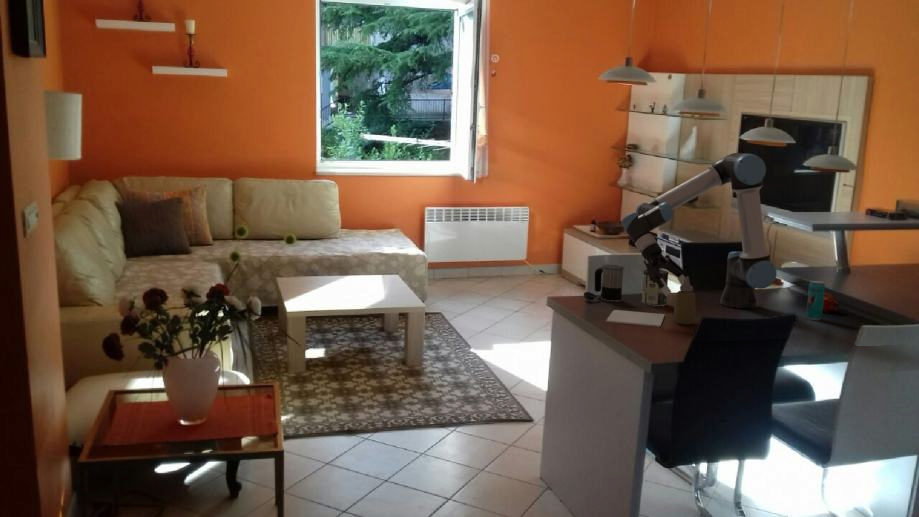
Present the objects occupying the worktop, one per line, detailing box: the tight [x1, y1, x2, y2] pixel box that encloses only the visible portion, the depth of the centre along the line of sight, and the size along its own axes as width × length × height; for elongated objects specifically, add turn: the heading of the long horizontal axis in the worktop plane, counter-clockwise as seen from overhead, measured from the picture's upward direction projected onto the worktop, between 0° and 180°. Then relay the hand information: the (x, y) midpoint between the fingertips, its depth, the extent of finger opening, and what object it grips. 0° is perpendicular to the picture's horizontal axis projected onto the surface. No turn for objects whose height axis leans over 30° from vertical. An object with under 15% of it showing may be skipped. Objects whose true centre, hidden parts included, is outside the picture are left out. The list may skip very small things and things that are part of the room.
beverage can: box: [806, 280, 826, 321], centre depth 319 cm, size 6×6×15 cm
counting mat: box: [605, 309, 666, 328], centre depth 313 cm, size 20×20×1 cm
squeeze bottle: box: [673, 276, 697, 326], centre depth 306 cm, size 8×8×18 cm
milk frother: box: [583, 264, 625, 301], centre depth 344 cm, size 14×16×15 cm
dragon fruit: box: [823, 291, 840, 313], centre depth 334 cm, size 8×8×12 cm
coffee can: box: [641, 269, 670, 307], centre depth 340 cm, size 10×10×14 cm
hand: (679, 292), depth 307 cm, fingers open, 13 cm apart
